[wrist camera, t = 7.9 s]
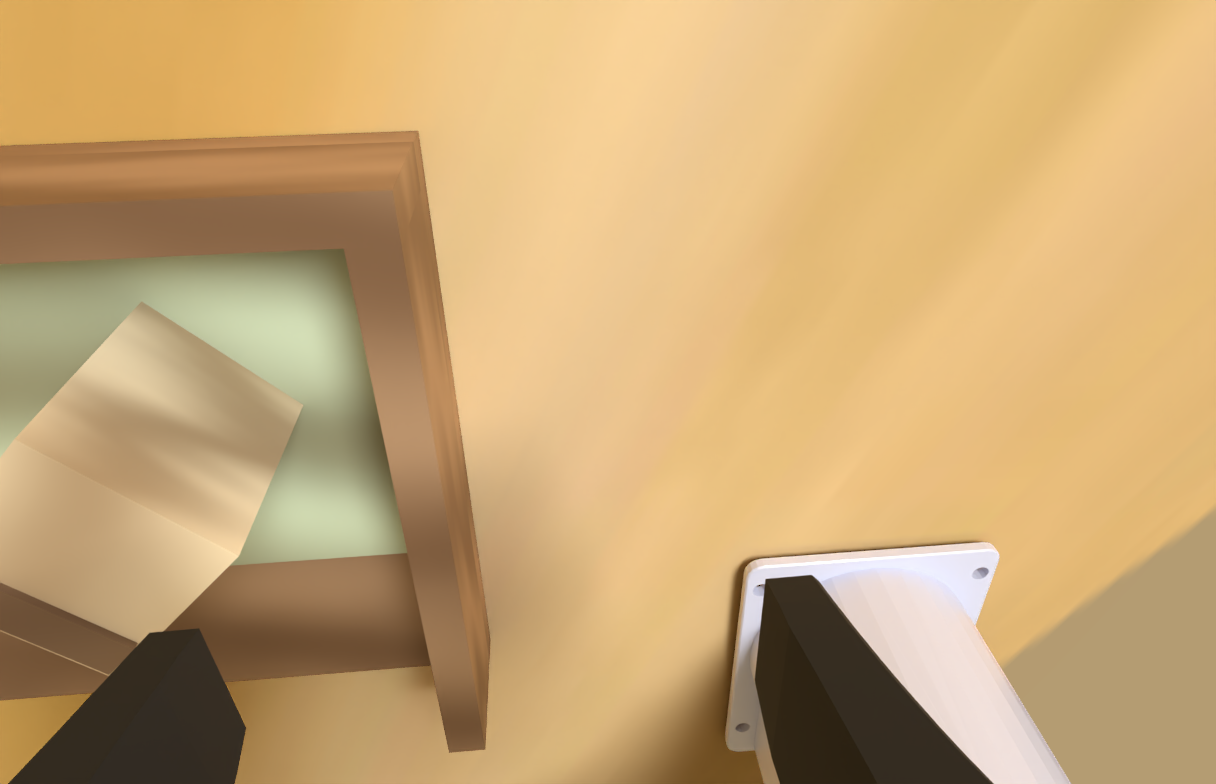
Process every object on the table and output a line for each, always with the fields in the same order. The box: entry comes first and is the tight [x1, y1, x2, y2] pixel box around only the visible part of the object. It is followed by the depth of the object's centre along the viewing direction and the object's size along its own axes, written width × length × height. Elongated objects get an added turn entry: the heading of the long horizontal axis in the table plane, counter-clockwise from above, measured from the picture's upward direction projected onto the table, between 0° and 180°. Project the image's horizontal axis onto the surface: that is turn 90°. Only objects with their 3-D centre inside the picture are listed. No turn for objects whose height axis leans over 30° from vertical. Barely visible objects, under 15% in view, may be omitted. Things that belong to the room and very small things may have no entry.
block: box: [0, 301, 303, 676], centre depth 16 cm, size 4×4×5 cm
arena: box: [0, 131, 490, 753], centre depth 18 cm, size 16×20×4 cm
